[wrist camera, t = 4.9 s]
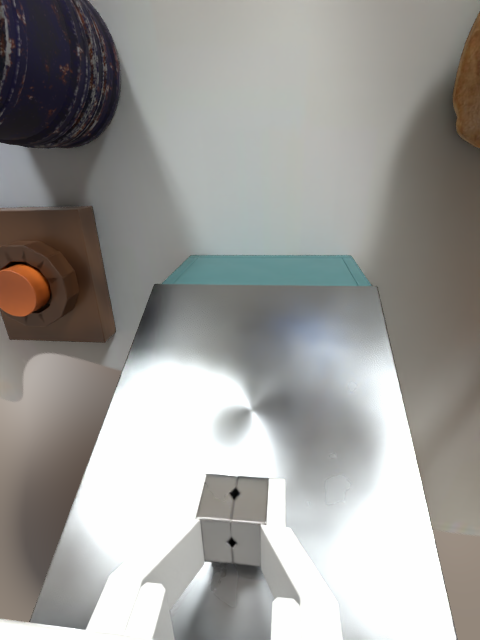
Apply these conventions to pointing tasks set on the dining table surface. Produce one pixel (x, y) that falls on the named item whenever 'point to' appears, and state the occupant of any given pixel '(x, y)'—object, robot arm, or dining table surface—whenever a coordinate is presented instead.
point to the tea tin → (269, 270)
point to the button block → (58, 273)
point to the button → (23, 290)
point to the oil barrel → (55, 73)
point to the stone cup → (469, 89)
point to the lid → (261, 460)
